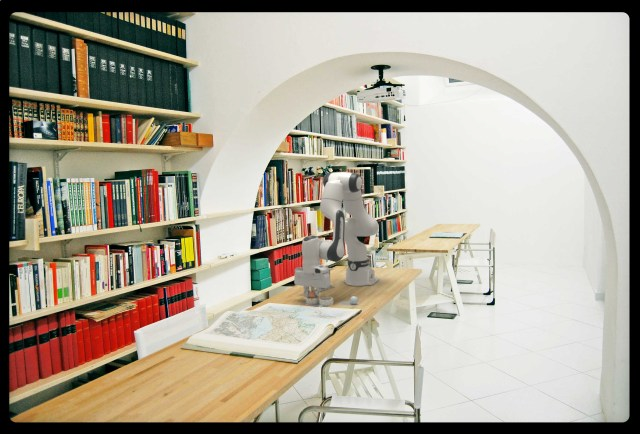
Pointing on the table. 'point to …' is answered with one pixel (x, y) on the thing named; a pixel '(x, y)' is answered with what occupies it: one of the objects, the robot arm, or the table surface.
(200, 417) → the table surface
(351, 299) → the ball bluegrey
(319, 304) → the card
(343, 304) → the grey mat
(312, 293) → the ball terracotta
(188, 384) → the table surface
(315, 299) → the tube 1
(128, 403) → the table surface
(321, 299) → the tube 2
